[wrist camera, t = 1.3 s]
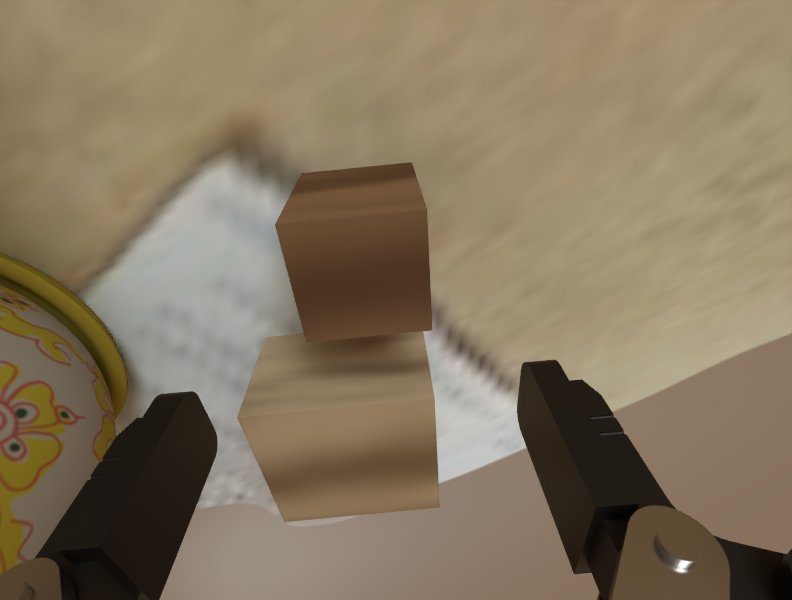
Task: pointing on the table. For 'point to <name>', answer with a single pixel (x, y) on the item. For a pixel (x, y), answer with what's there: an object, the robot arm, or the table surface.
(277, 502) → the oak box
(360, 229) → the walnut block
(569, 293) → the table surface
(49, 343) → the flowerpot
